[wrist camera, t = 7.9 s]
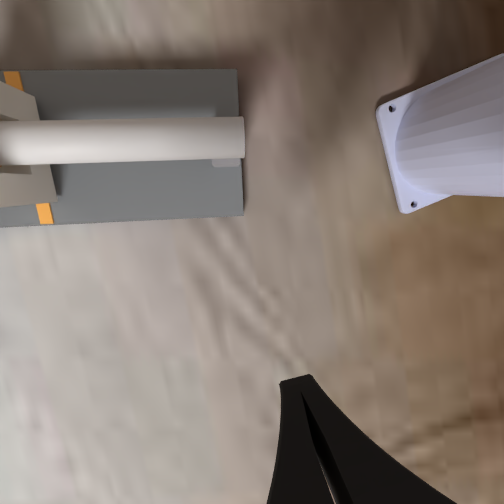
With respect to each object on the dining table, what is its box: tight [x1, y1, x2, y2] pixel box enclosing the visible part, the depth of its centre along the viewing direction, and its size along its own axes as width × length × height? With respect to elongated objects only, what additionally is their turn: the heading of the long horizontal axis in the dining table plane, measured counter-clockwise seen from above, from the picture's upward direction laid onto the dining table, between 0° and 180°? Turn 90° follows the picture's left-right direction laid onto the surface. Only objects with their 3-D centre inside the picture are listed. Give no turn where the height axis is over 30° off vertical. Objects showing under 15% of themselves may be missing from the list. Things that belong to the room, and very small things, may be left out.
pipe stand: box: [0, 69, 245, 227], centre depth 15 cm, size 20×9×6 cm, turn 92°
